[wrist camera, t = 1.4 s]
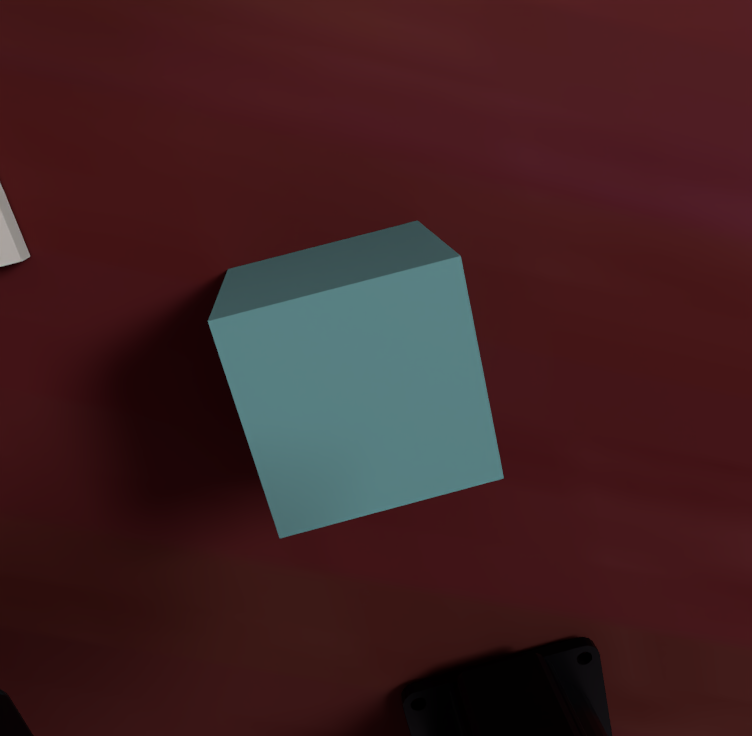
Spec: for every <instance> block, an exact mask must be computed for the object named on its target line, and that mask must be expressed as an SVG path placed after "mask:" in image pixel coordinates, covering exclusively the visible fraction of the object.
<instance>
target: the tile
mask: <svg viewBox="0 0 752 736" xmlns="http://www.w3.org/2000/svg"><path fill="white" fill-rule="evenodd" d="M29 257H30V254H29V252H28V249H27V247H26V244H25V242H24V239H23V237H22V235H21V232H20V230H19V227H18V225H17V222H16V220H15V217H14V215H13V212H12V210H11V208H10V205H9V203H8V200H7V198H6V195H5V193H4V190H3V188H2V186H1V183H0V267H2V266H6V265H10V264H13V263H17V262H21V261H24V260H25V259H27V258H29Z"/></svg>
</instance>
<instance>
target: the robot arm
mask: <svg viewBox="0 0 752 736" xmlns="http://www.w3.org/2000/svg"><path fill="white" fill-rule="evenodd" d="M583 652H586V653H585V654H583V655H582V656H579V654H581V653H583ZM401 698H402V704H403V709H404V712H405V716H406V719H407V723H408V726H409V730H410V733H411V736H612V732H611V725H610V719H609V712H608V706H607V699H606V693H605V686H604V680H603V674H602V667H601V661H600V654H599V652H598V650H597V648H596V646H595V644H594V643H593V641H592V640H590V639H589V638H586V637H579V638H575V639H571V640H568V641H564V642H560V643H557V644H553V645H549V646H546V647H542V648H539V649H535V650H531V651H528V652H524V653H520V654H517V655H513V656H510V657H506V658H502V659H499V660H495V661H491V662H488V663H484V664H480V665H477V666H473V667H470V668H466V669H462V670H459V671H455V672H451V673H448V674H444V675H441V676H437V677H433V678H430V679H426V680H422V681H419V682H415V683H412V684H410V685H408V686H407V687H406V688H405V689H404V690H403V692H402V694H401ZM416 698H422V699H421V700H419V701H413V700H414V699H416ZM0 736H33V734H32V733H31V731H30V729H29V728H28V726H27V724H26V723H25V721H24V720H23V718H22V716H21V715H20V713H19V712H18V710H17V708H16V707H15V705H14V703H13V702H12V700H11V699H10V697H9V696H8V695H7V693H6V692H4V691H3V690H1V689H0Z"/></svg>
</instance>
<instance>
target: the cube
mask: <svg viewBox="0 0 752 736" xmlns="http://www.w3.org/2000/svg"><path fill="white" fill-rule="evenodd" d="M208 324H209V327H210V330H211V333H212V336H213V339H214V342H215V345H216V348H217V351H218V354H219V357H220V360H221V363H222V366H223V369H224V372H225V375H226V378H227V381H228V384H229V387H230V390H231V393H232V396H233V399H234V402H235V405H236V408H237V411H238V414H239V417H240V420H241V423H242V426H243V429H244V432H245V435H246V438H247V441H248V444H249V447H250V450H251V453H252V456H253V459H254V462H255V465H256V468H257V471H258V474H259V477H260V480H261V483H262V486H263V489H264V492H265V495H266V498H267V501H268V504H269V508H270V511H271V514H272V517H273V520H274V523H275V526H276V529H277V532H278V535H279V538H283V537H287V536H291V535H294V534H298V533H302V532H306V531H309V530H313V529H317V528H320V527H324V526H328V525H332V524H335V523H339V522H343V521H347V520H350V519H354V518H358V517H361V516H365V515H369V514H373V513H376V512H380V511H384V510H388V509H391V508H395V507H399V506H403V505H406V504H410V503H414V502H417V501H421V500H425V499H429V498H432V497H436V496H440V495H444V494H447V493H451V492H455V491H458V490H462V489H466V488H470V487H473V486H477V485H481V484H485V483H488V482H492V481H496V480H500V479H503V478H504V477H503V471H502V466H501V461H500V456H499V451H498V446H497V441H496V435H495V430H494V425H493V420H492V415H491V410H490V405H489V399H488V394H487V389H486V384H485V379H484V374H483V369H482V363H481V358H480V353H479V348H478V343H477V338H476V333H475V327H474V322H473V317H472V312H471V307H470V302H469V297H468V291H467V286H466V281H465V276H464V271H463V266H462V261H461V256H460V255H459V254H458V253H456V252H455V251H454V250H453V249H452V248H450V247H449V246H448V245H447V244H445V243H444V242H443V241H442V240H441V239H439V238H438V237H437V236H436V235H434V234H433V233H432V232H431V231H430V230H428V229H427V228H426V227H425V226H424V225H422V224H421V223H420V222H419V221H414V222H410V223H406V224H403V225H399V226H395V227H391V228H387V229H383V230H379V231H375V232H371V233H367V234H364V235H360V236H356V237H352V238H348V239H344V240H340V241H336V242H332V243H329V244H325V245H321V246H317V247H313V248H309V249H305V250H301V251H297V252H293V253H290V254H286V255H282V256H278V257H274V258H270V259H266V260H262V261H258V262H254V263H251V264H247V265H243V266H239V267H235V268H231V269H228V270H227V273H226V276H225V278H224V281H223V283H222V286H221V288H220V291H219V294H218V296H217V299H216V301H215V304H214V306H213V309H212V312H211V314H210V317H209V319H208Z"/></svg>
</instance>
